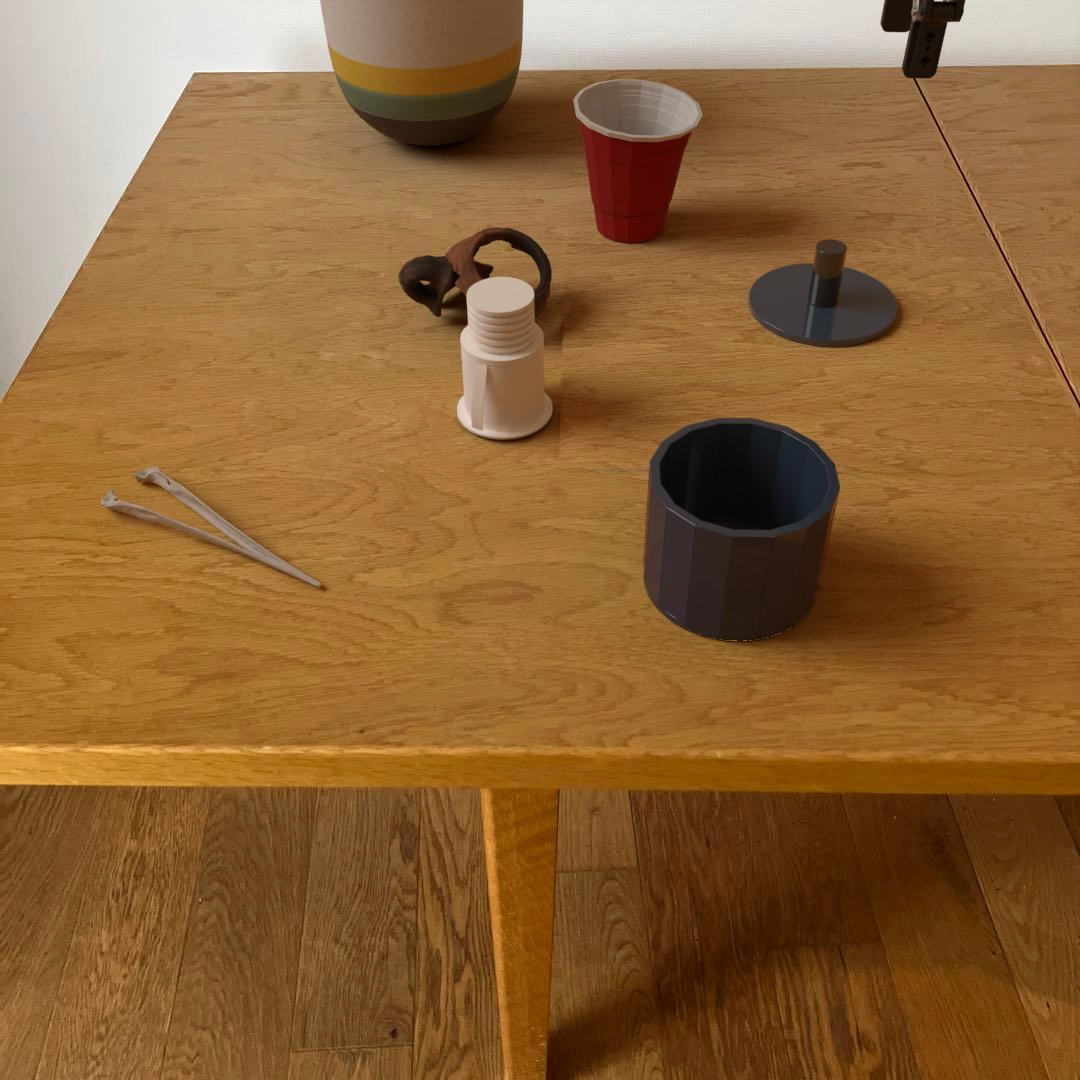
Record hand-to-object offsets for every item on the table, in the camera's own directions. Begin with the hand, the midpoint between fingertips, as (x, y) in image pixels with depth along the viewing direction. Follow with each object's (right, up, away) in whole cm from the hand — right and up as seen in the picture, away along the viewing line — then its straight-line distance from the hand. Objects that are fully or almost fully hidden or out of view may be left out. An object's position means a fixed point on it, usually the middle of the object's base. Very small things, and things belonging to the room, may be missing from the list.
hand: (905, 52), depth 85 cm
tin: (-14, -37, -10) cm, 41 cm away
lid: (-3, -16, +12) cm, 20 cm away
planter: (-37, +7, +39) cm, 54 cm away
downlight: (-29, -25, +3) cm, 38 cm away
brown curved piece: (-31, -17, +13) cm, 37 cm away
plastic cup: (-18, -7, +23) cm, 30 cm away
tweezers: (-47, -35, -6) cm, 59 cm away
